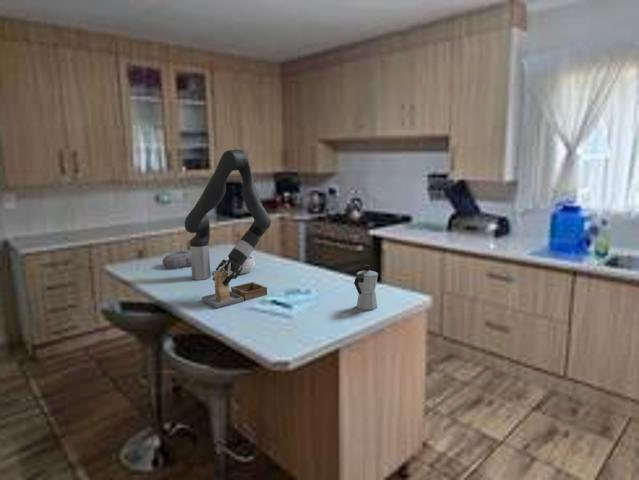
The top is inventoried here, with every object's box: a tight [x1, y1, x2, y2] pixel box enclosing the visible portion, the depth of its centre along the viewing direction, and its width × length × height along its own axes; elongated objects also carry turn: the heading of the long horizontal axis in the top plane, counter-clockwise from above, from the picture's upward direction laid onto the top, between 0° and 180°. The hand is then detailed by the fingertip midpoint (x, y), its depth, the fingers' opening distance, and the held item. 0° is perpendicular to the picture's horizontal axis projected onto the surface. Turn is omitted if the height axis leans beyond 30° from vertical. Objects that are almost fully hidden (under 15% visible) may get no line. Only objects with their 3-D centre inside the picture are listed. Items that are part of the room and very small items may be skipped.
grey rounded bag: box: [162, 250, 191, 270], centre depth 257 cm, size 15×8×20 cm
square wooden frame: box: [230, 281, 268, 302], centre depth 205 cm, size 12×12×4 cm
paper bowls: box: [225, 254, 256, 275], centre depth 243 cm, size 15×15×8 cm
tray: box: [201, 290, 245, 310], centre depth 196 cm, size 13×13×2 cm
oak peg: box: [213, 271, 230, 302], centre depth 195 cm, size 4×4×12 cm
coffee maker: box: [353, 264, 379, 311], centre depth 185 cm, size 15×9×18 cm, turn 141°
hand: (218, 282), depth 194 cm, fingers open, 8 cm apart
